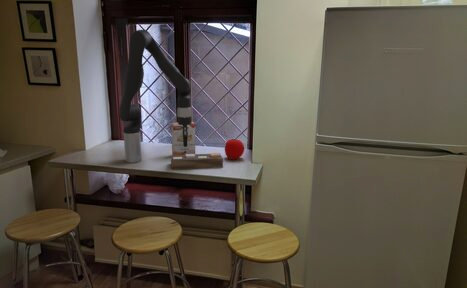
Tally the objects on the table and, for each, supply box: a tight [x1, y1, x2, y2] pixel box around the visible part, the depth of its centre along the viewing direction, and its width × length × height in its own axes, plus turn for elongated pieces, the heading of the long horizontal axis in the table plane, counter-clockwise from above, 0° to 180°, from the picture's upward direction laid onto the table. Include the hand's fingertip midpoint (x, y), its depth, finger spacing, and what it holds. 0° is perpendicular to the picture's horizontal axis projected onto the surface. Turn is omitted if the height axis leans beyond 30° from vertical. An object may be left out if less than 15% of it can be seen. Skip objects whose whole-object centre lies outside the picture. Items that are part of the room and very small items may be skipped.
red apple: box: [224, 138, 245, 160], centre depth 203 cm, size 12×12×13 cm
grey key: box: [186, 153, 196, 159], centre depth 188 cm, size 5×5×3 cm
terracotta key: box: [209, 152, 220, 158], centre depth 191 cm, size 5×5×3 cm
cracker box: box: [171, 121, 196, 155], centre depth 208 cm, size 14×6×21 cm, turn 112°
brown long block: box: [170, 152, 224, 170], centre depth 189 cm, size 11×29×5 cm, turn 101°
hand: (185, 146), depth 185 cm, fingers closed
